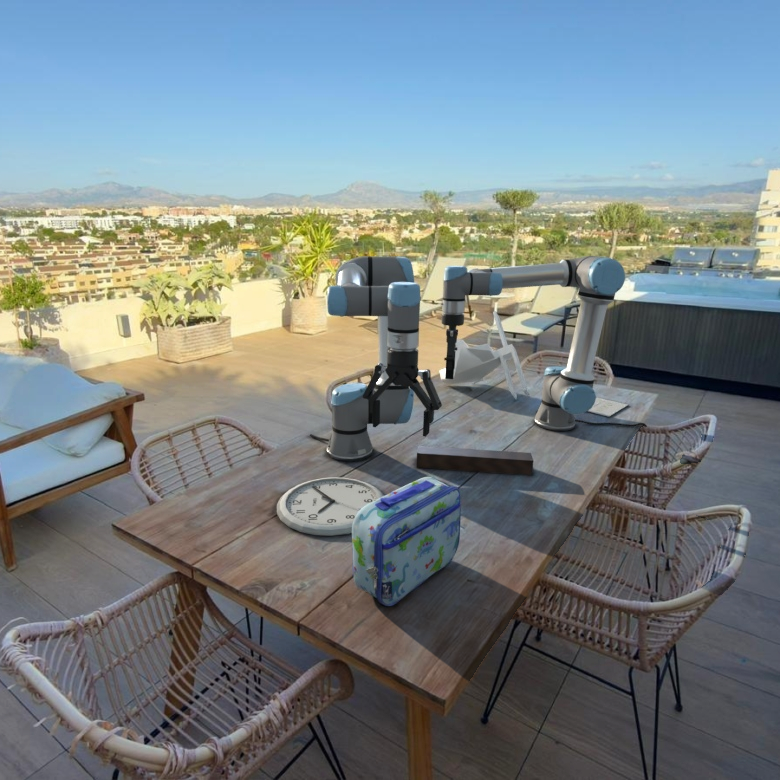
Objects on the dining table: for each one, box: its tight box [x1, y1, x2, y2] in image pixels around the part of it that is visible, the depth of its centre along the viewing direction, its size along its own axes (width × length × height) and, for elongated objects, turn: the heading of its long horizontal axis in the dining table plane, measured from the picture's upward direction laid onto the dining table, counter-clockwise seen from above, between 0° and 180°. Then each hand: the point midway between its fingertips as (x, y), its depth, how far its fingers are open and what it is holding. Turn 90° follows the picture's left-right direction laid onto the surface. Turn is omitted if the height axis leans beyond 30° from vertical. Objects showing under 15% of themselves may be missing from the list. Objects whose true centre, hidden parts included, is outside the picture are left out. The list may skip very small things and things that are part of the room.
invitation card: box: [587, 396, 629, 418], centre depth 226 cm, size 21×1×15 cm
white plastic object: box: [438, 310, 531, 400], centre depth 245 cm, size 37×45×31 cm
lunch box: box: [351, 476, 462, 607], centre depth 111 cm, size 26×11×21 cm, turn 135°
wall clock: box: [276, 476, 385, 537], centre depth 142 cm, size 30×2×30 cm
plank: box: [415, 445, 534, 476], centre depth 166 cm, size 36×6×5 cm, turn 83°
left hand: (400, 430), depth 132 cm, fingers open, 13 cm apart
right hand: (450, 373), depth 183 cm, fingers open, 13 cm apart
